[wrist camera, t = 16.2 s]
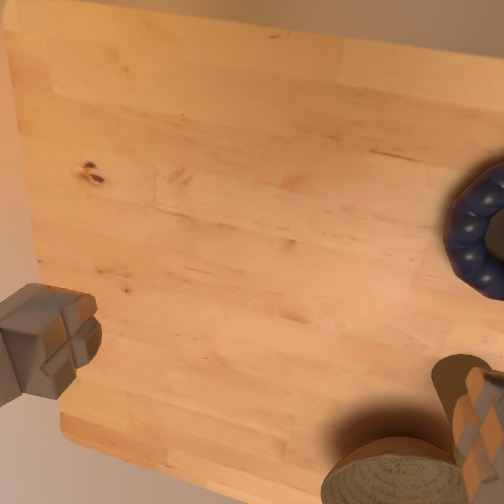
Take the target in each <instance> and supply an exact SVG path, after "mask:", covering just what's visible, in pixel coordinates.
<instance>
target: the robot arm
mask: <svg viewBox="0 0 504 504" xmlns="http://www.w3.org/2000/svg"><path fill="white" fill-rule="evenodd" d="M97 310H98V308H97V304H96V300H95V297H93V296H92V295H90V294H87V293H83V292H78V291H73V290H69V289H64V288H59V287H55V286H53V287H52V286H48V285H44V284H39V283H31V284H27V285H26V286H24V287H23V288H21V289H20V290H18V291H17V292H15V293H14V294H12V295H11V296H9V297H8V298H7V299H5V300H4V301H2V302H1V303H0V407H1V406H2V405H5V404H6V403H8V402H10V401H12V400H14V399H15V398H17V397H19V396H21V395H22V393H27V394H31V395H36V396H40V397H45V398H49V399H54V400H57V399H58V398H59V397H60V395H61V394H62V393H63V392H64V391H65V390H66V389H67V387H68V386H69V385H70V384H71V383H72V382H73V381H74V380H75V378H76V369H78V368H80V367H82V366H84V365H86V364H89V362H90V361H91V360H92V359H93V358H94V356H95V355H96V354H97V351H98V349H99V347H100V344H101V339H102V330H101V324H100V323H99V322H98V321H97V320H96V318H95V317H94V314H95V313H96V311H97ZM465 383H466V386H467V390H468V393H467V394H465V395H463V396H461V397H460V398H458V400H457V403H456V406H455V409H454V414H453V424H452V426H453V437H454V441H455V446H456V449H457V450H458V451H459V452H460V453H461V454H462V455H463V456H464V458H465V459H466V461H465V463H464V465H463V467H462V470H461V471H462V475H463V479H464V484H465V488H466V492H467V496H468V500H469V504H504V372H500V371H495V370H489V369H484V368H478V367H473V368H472V369H471V370H470V372H469V373H468V376H467V378H466V381H465Z"/></svg>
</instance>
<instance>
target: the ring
mask: <svg viewBox="0 0 504 504" xmlns="http://www.w3.org/2000/svg"><path fill="white" fill-rule="evenodd" d="M503 208H504V162H502V163H499V164H497V165H494V166H491V167H489V168H488V169H486V170H485V171H484V172H483V173H482V174H481V175H480V176H479V177H478V178H477V179H476V180H475V181H474V182H473V183H472V184H471V185H469V186H468V187H467V188H466V189H465V190H464V191H463V192H462V193H461V194H460V195H459V196H458V197H457V198H456V199H455V201H454V203H453V205H452V208H451V211H450V214H449V218H448V221H447V225H446V228H445V231H444V235H443V244H444V247H445V250H446V252H447V255H448V258H449V261H450V263H451V266H452V269H453V271H454V273H455V275H456V276H457V277H458V278H459V279H461V280H462V281H464V282H465V283H467V284H468V285H469V286H471V287H472V288H474V289H475V290H476V291H478V292H479V293H481V294H482V295H483V296H485V297H487V298H490V299H494V300H500V301H504V266H503V265H502V264H500V263H499V262H498V261H496V260H495V259H493V258H492V257H491V256H489V253H488V250H487V247H486V244H485V240H484V238H485V235H486V232H487V229H488V226H489V224H490V221H491V218H492V217H494V216H495V215H496V214H497V213H498V212H499V211H500V210H501V209H503Z"/></svg>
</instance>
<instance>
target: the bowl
mask: <svg viewBox="0 0 504 504" xmlns="http://www.w3.org/2000/svg"><path fill="white" fill-rule="evenodd" d="M321 500H322V503H323V504H469V500H468V496H467V492H466V488H465V484H464V479H463V475H462V471H461V469H460V467H459V466H458V465H457V463H456V461H455V458H454V456H453V455H452V454H450V453H448V452H446V451H444V450H442V449H440V448H438V447H436V446H435V445H433V444H431V443H429V442H427V441H424V440H421V439H417V438H411V437H403V436H394V437H385V438H381V439H377V440H375V441H372V442H370V443H368V444H366V445H364V446H362V447H361V448H359V449H357V450H355V451H354V452H352V453H350V454H349V455H347V456H346V457H344V458H343V459H341V460H340V461H339V462H338V463H337V464H336V465H335V466H334V467H333V468H332V470H331V471H330V472H329V473H328V475H327V476H326V478H325V479H324V482H323V484H322V487H321Z"/></svg>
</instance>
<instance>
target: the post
mask: <svg viewBox="0 0 504 504" xmlns="http://www.w3.org/2000/svg"><path fill="white" fill-rule="evenodd" d="M484 240H485V244H486V247H487V250H488V253H489V256H491V257H492V258H493V259H495V260H496V261H498V262H499V263H500V264H502V265H503V266H504V208H503V209H501V210H500V211H499V212H498V213H497V214H496V215H495V216H494V217H492V218H491V221H490V224H489V226H488V229H487V232H486V235H485V238H484Z"/></svg>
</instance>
